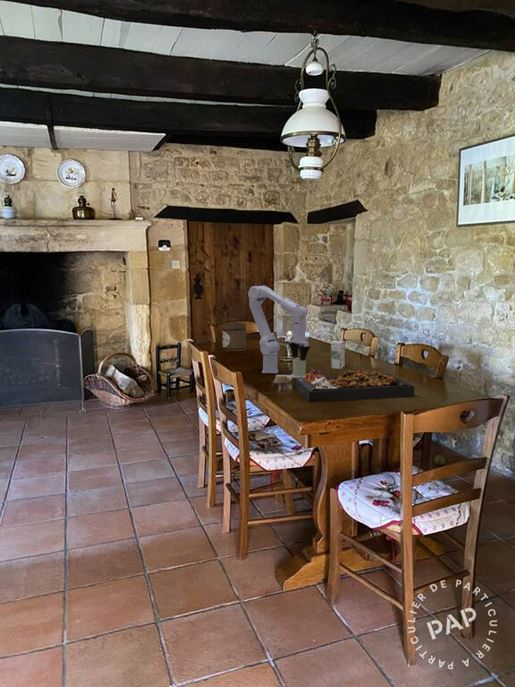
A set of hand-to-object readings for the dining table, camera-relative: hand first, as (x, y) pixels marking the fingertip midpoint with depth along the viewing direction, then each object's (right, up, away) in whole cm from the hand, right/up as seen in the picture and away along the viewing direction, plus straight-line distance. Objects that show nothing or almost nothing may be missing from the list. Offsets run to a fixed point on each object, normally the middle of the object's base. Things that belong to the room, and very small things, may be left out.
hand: (299, 359), depth 244 cm
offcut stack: (-9, -11, -12) cm, 18 cm away
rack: (-8, -9, -5) cm, 13 cm away
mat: (0, -8, +1) cm, 9 cm away
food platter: (+20, -14, -28) cm, 37 cm away
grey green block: (0, -8, +1) cm, 8 cm away
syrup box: (+22, -6, +20) cm, 30 cm away
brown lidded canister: (-35, +1, +69) cm, 77 cm away
